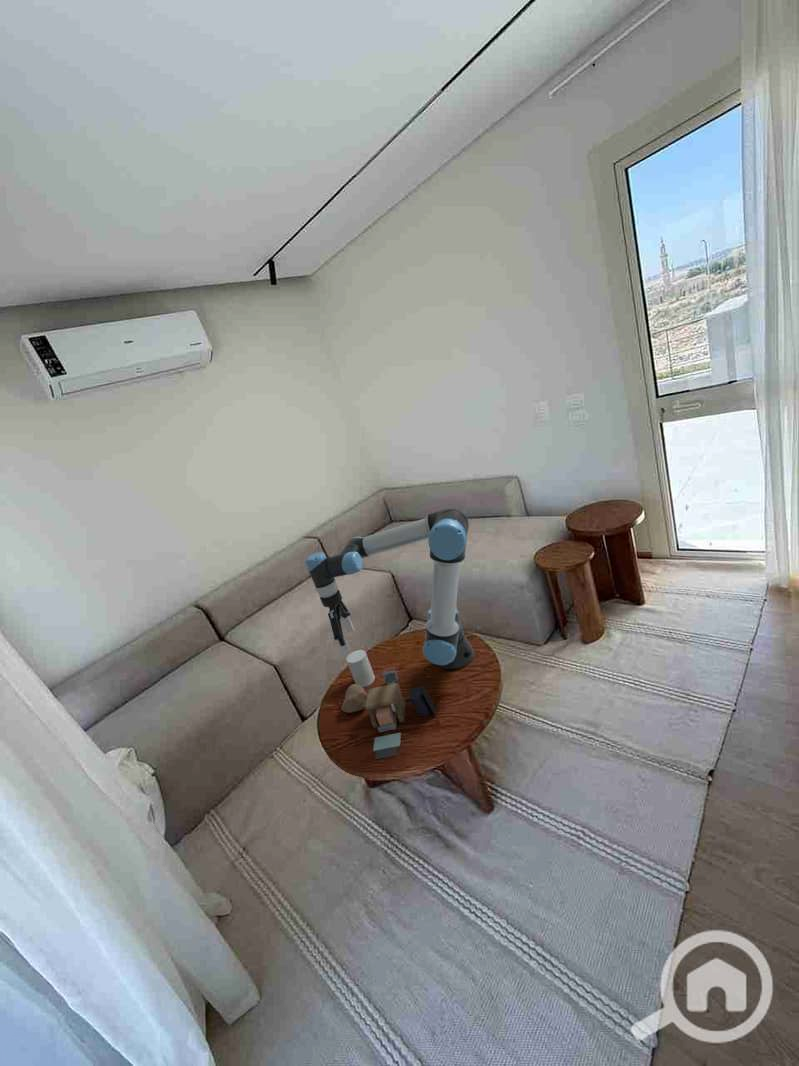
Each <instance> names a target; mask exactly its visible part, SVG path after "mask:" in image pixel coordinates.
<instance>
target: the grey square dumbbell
mask: <svg viewBox="0 0 799 1066" xmlns="http://www.w3.org/2000/svg"><path fill="white" fill-rule="evenodd" d="M382 677H383V681H384V684H386V685H390V684H395V683H396V682H398V681H399V677H398V673H397V671H396V669H391V670H386V671H383V672H382ZM391 707H392V709H393V712H394V724H389V725H384V726H380V725H379V724H378V727H377V730H378V733H383V732H388V731H391V730H394V731H395V730H396V729H397V726H398V725H397V722H398V721H397V720H398V716H397V713H396V710H395V707H394V704H391Z"/></svg>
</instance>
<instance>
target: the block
mask: <svg viewBox="0 0 799 1066" xmlns="http://www.w3.org/2000/svg"><path fill="white" fill-rule="evenodd" d="M376 717H377V720H378V726H379V725H380V726H384V725H389V724H394V712H393V709H392V707H391V705H386V706H381V707H377V713H376Z"/></svg>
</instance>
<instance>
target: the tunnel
mask: <svg viewBox="0 0 799 1066" xmlns="http://www.w3.org/2000/svg"><path fill="white" fill-rule="evenodd" d="M391 704H394V707H395V710H396V713H397V719H398V721H399V723H403V722H405V713H406V712H405V710H406V703H405V699H404V697H403V694H402V691H401V688H400V685H399V683H398V682H395V684H390V685H388V684H386V685H381V686H376V687H373V688H369V689H368V690H367V701H366V707H365V709H366V712H367V715H368V717H369V720H370V722H371V725H372V727H373V728H378V727H379V722H378V720H377V717H376V713H377V707H381V706H386V705H391Z"/></svg>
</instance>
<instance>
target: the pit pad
mask: <svg viewBox="0 0 799 1066" xmlns="http://www.w3.org/2000/svg"><path fill="white" fill-rule="evenodd" d="M396 755H398V747H393V748H388V749H383V750H378V751H375V758H374V760H375V759H377V760H382V759H381V758H383V759H387V758H386V757H388V758H392V757H391V756H393V757H396Z"/></svg>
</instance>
